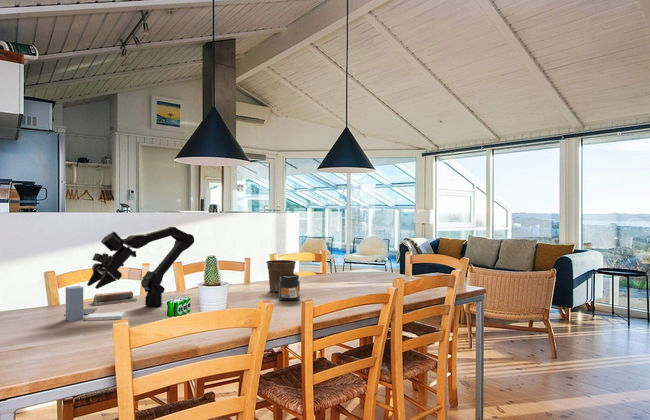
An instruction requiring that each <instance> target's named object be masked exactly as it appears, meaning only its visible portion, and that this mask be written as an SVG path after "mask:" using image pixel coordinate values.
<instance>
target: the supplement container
mask: <svg viewBox="0 0 650 420" xmlns="http://www.w3.org/2000/svg"><path fill="white" fill-rule="evenodd" d="M299 279H300V275H299V274H296V273H294V274H283V275H280V281H279V292H278V299H279V300H280V301H283V302H295V301H298V300H300V296H301V295H300V293H301V292H300V291H301V289H300V288H301V287H300V286H301V285H300V284H301V282H300V280H299Z"/></svg>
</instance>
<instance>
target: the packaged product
mask: <svg viewBox="0 0 650 420" xmlns="http://www.w3.org/2000/svg"><path fill="white" fill-rule="evenodd" d="M137 300H138V298H137V297H134V292H133V291H132V290H129V291H117V292H109V293H107V292H106V293H95V294H94V296H93V300H92V302H93V304H94V305H95V306H96V307H97V306H106V305H114V304H122V303H123V302H124V303H130V302H131V301H133V302H137Z"/></svg>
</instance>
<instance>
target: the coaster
mask: <svg viewBox="0 0 650 420" xmlns="http://www.w3.org/2000/svg"><path fill="white" fill-rule="evenodd" d="M97 309H98V308H83V316H87V315H88V314H93V313H94V312H96V311H97ZM63 316H64V317H66V313H65V314H64V315H63Z"/></svg>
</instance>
